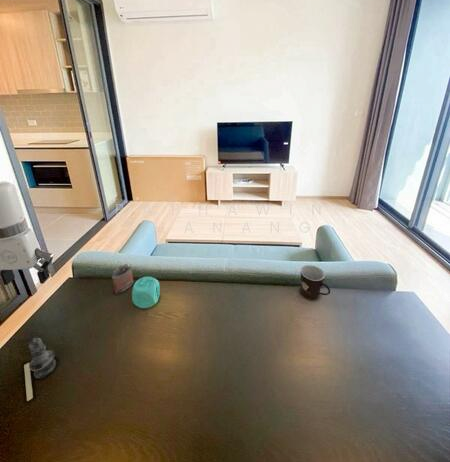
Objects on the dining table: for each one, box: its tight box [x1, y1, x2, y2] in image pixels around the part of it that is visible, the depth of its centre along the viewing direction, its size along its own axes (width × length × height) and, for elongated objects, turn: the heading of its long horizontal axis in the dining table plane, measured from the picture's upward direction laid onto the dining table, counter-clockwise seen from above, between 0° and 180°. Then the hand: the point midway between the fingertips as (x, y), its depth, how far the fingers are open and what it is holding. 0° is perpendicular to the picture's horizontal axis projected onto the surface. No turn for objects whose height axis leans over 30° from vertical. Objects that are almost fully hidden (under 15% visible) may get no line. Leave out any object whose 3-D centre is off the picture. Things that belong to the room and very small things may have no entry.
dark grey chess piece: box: [28, 337, 57, 379], centre depth 68 cm, size 6×6×12 cm
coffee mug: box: [300, 264, 331, 300], centre depth 92 cm, size 12×9×10 cm
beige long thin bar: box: [23, 362, 34, 402], centre depth 67 cm, size 12×1×1 cm, turn 41°
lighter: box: [111, 263, 135, 295], centre depth 98 cm, size 8×3×10 cm, turn 144°
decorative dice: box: [131, 276, 161, 309], centre depth 92 cm, size 8×8×8 cm
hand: (27, 280), depth 69 cm, fingers open, 9 cm apart
